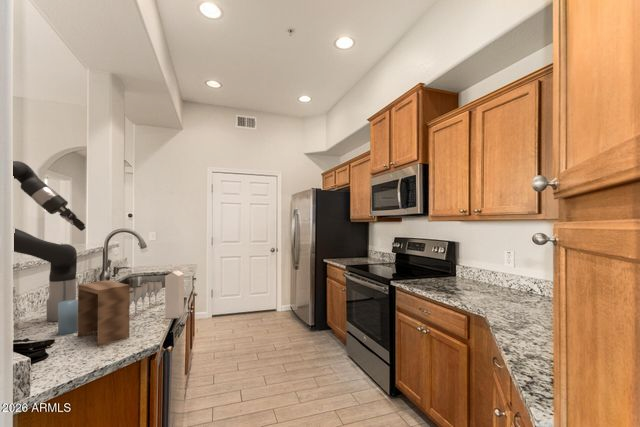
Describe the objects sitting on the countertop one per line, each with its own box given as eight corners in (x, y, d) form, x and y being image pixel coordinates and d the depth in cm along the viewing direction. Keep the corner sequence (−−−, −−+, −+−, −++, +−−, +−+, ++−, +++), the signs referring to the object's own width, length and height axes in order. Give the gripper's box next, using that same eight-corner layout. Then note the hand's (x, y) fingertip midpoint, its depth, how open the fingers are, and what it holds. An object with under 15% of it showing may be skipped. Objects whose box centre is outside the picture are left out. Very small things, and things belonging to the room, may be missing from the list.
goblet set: (131, 320, 132) (131, 290, 132) (118, 321, 132) (118, 290, 132) (164, 303, 160) (164, 278, 160) (153, 303, 160) (153, 278, 160)
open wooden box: (98, 346, 105) (98, 290, 105) (77, 336, 115) (78, 284, 115) (129, 337, 113) (129, 284, 113) (107, 328, 123) (107, 280, 123)
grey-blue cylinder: (54, 336, 115) (55, 304, 115) (62, 330, 121) (63, 300, 121) (73, 334, 117) (74, 302, 117) (80, 328, 122) (80, 299, 123)
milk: (184, 314, 141) (184, 266, 141) (178, 318, 135) (179, 268, 135) (170, 314, 140) (171, 266, 141) (164, 318, 134) (165, 268, 135)
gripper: (43, 209, 129) (76, 236, 134) (37, 202, 118) (73, 231, 122) (60, 198, 133) (91, 224, 138) (57, 190, 122) (91, 219, 126)
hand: (83, 228), depth 130 cm, fingers open, 8 cm apart
